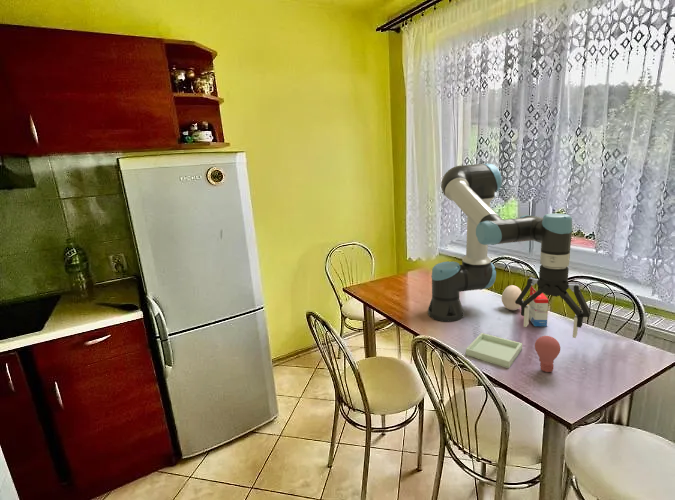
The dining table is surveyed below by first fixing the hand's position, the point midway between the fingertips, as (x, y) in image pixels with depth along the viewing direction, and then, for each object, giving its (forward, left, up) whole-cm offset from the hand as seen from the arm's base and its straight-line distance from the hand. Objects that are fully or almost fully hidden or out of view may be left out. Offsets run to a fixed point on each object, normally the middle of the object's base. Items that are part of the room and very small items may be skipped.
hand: (549, 330), depth 116 cm
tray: (-17, +2, -14) cm, 23 cm away
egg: (-23, +42, -15) cm, 50 cm away
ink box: (-11, +35, -15) cm, 40 cm away
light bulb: (0, 0, -15) cm, 15 cm away
